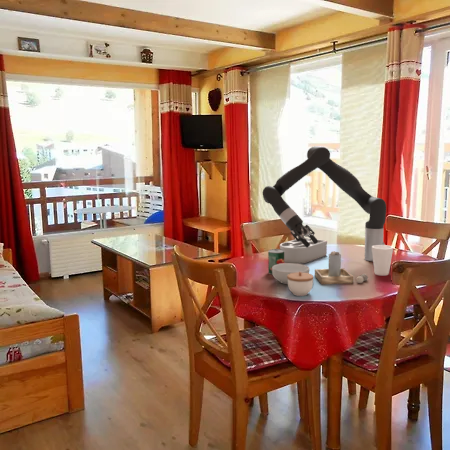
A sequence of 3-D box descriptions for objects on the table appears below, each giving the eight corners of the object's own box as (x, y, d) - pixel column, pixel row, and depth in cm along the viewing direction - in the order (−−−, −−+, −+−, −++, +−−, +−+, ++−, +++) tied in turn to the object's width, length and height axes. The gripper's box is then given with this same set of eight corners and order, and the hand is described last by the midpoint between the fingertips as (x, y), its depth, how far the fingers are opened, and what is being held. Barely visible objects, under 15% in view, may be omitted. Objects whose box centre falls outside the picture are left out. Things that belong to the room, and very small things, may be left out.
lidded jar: (284, 290, 201) (284, 269, 200) (309, 289, 202) (309, 268, 201) (290, 298, 191) (290, 275, 189) (316, 296, 192) (316, 274, 190)
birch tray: (344, 274, 223) (344, 268, 223) (353, 283, 209) (353, 276, 209) (314, 275, 223) (314, 269, 222) (321, 284, 209) (321, 277, 208)
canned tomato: (283, 275, 225) (283, 252, 224) (267, 274, 227) (267, 252, 225) (285, 270, 233) (285, 249, 231) (269, 270, 235) (269, 248, 233)
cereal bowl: (300, 289, 202) (300, 273, 201) (265, 284, 211) (265, 269, 210) (315, 280, 216) (315, 265, 215) (282, 275, 225) (281, 261, 224)
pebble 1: (362, 281, 211) (362, 275, 211) (364, 283, 208) (364, 276, 207) (355, 282, 211) (355, 275, 210) (357, 284, 208) (357, 277, 207)
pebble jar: (339, 276, 218) (339, 249, 216) (341, 279, 213) (342, 252, 211) (327, 276, 218) (327, 250, 216) (329, 279, 213) (330, 252, 211)
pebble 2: (366, 279, 214) (366, 273, 214) (368, 281, 211) (369, 274, 210) (359, 280, 214) (359, 273, 213) (361, 282, 211) (362, 275, 210)
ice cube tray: (327, 255, 264) (327, 240, 263) (300, 265, 243) (300, 249, 242) (301, 252, 275) (301, 237, 273) (273, 261, 254) (273, 245, 253)
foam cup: (392, 271, 226) (393, 245, 224) (392, 276, 218) (393, 249, 216) (371, 270, 230) (372, 244, 228) (370, 275, 221) (371, 248, 219)
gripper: (288, 216, 221) (310, 242, 216) (302, 212, 232) (324, 236, 227) (278, 226, 225) (300, 252, 220) (293, 222, 236) (314, 246, 231)
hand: (312, 244), depth 223 cm, fingers open, 8 cm apart
